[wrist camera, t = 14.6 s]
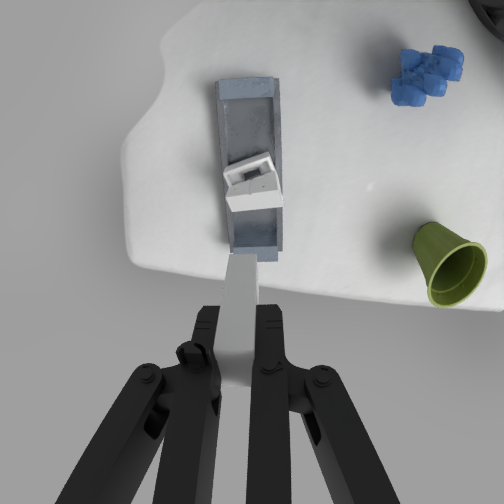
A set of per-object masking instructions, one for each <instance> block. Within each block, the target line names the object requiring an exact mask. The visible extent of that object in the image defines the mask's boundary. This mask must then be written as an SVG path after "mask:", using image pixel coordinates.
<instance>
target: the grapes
mask: <svg viewBox="0 0 504 504" xmlns="http://www.w3.org/2000/svg"><path fill="white" fill-rule="evenodd" d="M400 61H401V66H402V68H401V78H392V82H391V91H392V92H391V99H392V102H393V103H394V104H395V105H397V106H412V107H420V106H424V104H425V101H426V94H427V95H430V96H437V97H441V96H444V95H445V92H446V88H447V81H446V80H449V81H459V80H460V78H461V75H462V70H463V69H462V65H463V61H464V56H463V53H462V52H461V51H460V50H458V49H456V48H452V47H445V46H438V45H434V47H433V51H432V54H430V53H426V52H421V53H420V52H419V51H415V50H401V56H400Z"/></svg>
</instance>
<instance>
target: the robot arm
mask: <svg viewBox="0 0 504 504" xmlns="http://www.w3.org/2000/svg"><path fill="white" fill-rule="evenodd" d="M469 2H470V4H471V6H472V8H473V9H474V11H475V13H476V14H477V16H478V17H479V19H480V20H481V21H482V22H483V24H484V25H485V26H486V27H487V28H488V29H489V30H490V31H491V32H492V33H493V34H494V35H495V36H496V37H498V38H499V39H501V40H503V41H504V0H469ZM258 298H259V289H258V268H257V254H230V255H229V260H228V266H227V271H226V277H225V283H224V288H223V294H222V300H221V305H220V306H203V307H202V309H201V310H200V311H199V312H198V315H197V319H196V323H195V327H194V331H193V335H192V339H191V341H187V342H185V343H183V344H181V345H180V346H179V347H178V348H177V350H176V354H177V357H178V360H179V362H180V364H178V365H175V366H172V367H167V368H162V369H160V368H159V367H158V366H157V365H155V364H151V363H147V364H142V365H140V366H139V367H137V368H136V369H135V371H134V372H133V373H132V375H131V376H130V378H129V380H128V381H127V383H126V384H125V386H124V387H123V389H122V391H121V392H120V394H119V395H118V397H117V399H116V400H115V402H114V404H113V405H112V407H111V408H110V410H109V411H108V413H107V415H106V416H105V418H104V420H103V421H102V423H101V424H100V426H99V428H98V430H97V431H96V433H95V434H94V436H93V438H92V439H91V441H90V443H89V444H88V446H87V448H86V449H85V451H84V453H83V455H82V456H81V458H80V460H79V461H78V463H77V465H76V467H75V469H74V470H73V472H72V474H71V475H70V477H69V479H68V481H67V483H66V484H65V486H64V488H63V490H62V491H61V494H60V495H59V497H58V499H57V501H56V502H55V504H131V502H132V500H133V498H134V496H135V494H136V492H137V490H138V488H139V486H140V484H141V482H142V480H143V478H144V476H145V474H146V472H147V470H148V468H149V466H150V464H151V462H152V460H153V458H154V456H155V454H156V452H157V450H158V448H159V446H160V444H161V442H162V440H163V438H164V442H163V447H162V452H161V458H160V463H159V468H158V474H157V479H156V485H155V491H154V497H153V503H152V504H211V499H212V488H213V478H214V468H215V458H216V447H217V437H218V428H219V418H220V408H221V399H222V396H221V391H220V389H221V382H222V385H223V386H249V387H251V405H250V406H251V407H250V427H249V449H248V470H247V490H246V504H291V456H290V429H289V411H293V412H297V413H300V414H301V417H302V420H303V423H304V425H305V428H306V431H307V433H308V436H309V439H310V442H311V444H312V447H313V450H314V452H315V455H316V458H317V460H318V463H319V466H320V468H321V471H322V474H323V476H324V479H325V482H326V484H327V487H328V490H329V492H330V495H331V498H332V500H333V503H334V504H400V502H399V500H398V498H397V496H396V493H395V491H394V489H393V487H392V484H391V482H390V480H389V478H388V476H387V474H386V471H385V469H384V467H383V465H382V463H381V461H380V459H379V456H378V454H377V452H376V450H375V448H374V446H373V444H372V442H371V440H370V438H369V435H368V433H367V431H366V429H365V427H364V425H363V423H362V421H361V419H360V417H359V415H358V413H357V411H356V409H355V407H354V405H353V402H352V401H351V399H350V397H349V395H348V392H347V390H346V388H345V386H344V384H343V382H342V380H341V378H340V376H339V374H338V373H337V372H336V371H335V370H334V369H333V368H331V367H329V366H325V365H319V366H315V367H313V368H311V369H310V370H308V369H303V368H299V367H296V366H294V365H292V364H291V363H290V362H289V361H288V360H287V358H286V356H285V350H284V333H283V320H282V319H283V318H282V311H281V309H280V308H279V307H278V305H277V304H270V305H258V300H259V299H258ZM164 436H165V437H164Z"/></svg>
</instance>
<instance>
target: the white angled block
mask: <svg viewBox="0 0 504 504" xmlns="http://www.w3.org/2000/svg"><path fill="white" fill-rule="evenodd" d="M258 168H259V170H260V172H261V174H259V175H256V176H253V177H250V178H247V179H245V176H244V173H246V172H249V171H252V170H255V169H258ZM223 175H224V177H225V179H226V182H227V184H228V186H229V188H228V191H227V194H226V197H225V198H226V200H227V202H228V205H229V207H230V209H231V211H232V212H237V211H247V210H256V209H266V208H277V207H284V203H283V198H282V193H281V188H280V183H279V178H278V175H277V172H276V169H275V167H274V164H273V162H272V159H271V156H270V154H269V151H268V152H265V153H262V154H259V155H256V156H254V157H251V158H248V159H245V160H243V161H240V162H237V163H235V164H232V165H229V166H227V167H226V168H225V170H224V172H223Z"/></svg>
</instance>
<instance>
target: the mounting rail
mask: <svg viewBox="0 0 504 504" xmlns="http://www.w3.org/2000/svg"><path fill="white" fill-rule="evenodd" d="M215 88H216V101H217V114H218V127H219V139H220V151H221V162H222V173H223V172H224V170H225V168H226V167H227V166H229V165H232V164H235V163H237V162H240V161H243V160H245V159H248V158H251V157H254V156H256V155H259V154H262V153H265V152H268V151H269V154H270V156H271V159H272V162H273V164H274V167H275V169H276V172H277V175H278V178H279V183H280V188H281V193H282V148H281V115H280V90H279V78H273V77H254V78H237V79H225V80H219V82H215ZM259 174H261V172H260V170H259V168H258V169H255V170H252V171H249V172H246V173H244V176H245V179H247V178H250V177H253V176H256V175H259ZM223 184H224V194H225V197H226V194H227V191H228V188H229V186H228V184H227V182H226V179H225V177H224V175H223ZM225 205H226V215H227V225H228V234H229V244H230V253H234V254H257V262H272V261H278V251H282V240H283V221H282V207H277V208H266V209H256V210H247V211H237V212H232V211H231V209H230V207H229V205H228V202H227V200H226V198H225Z"/></svg>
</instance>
